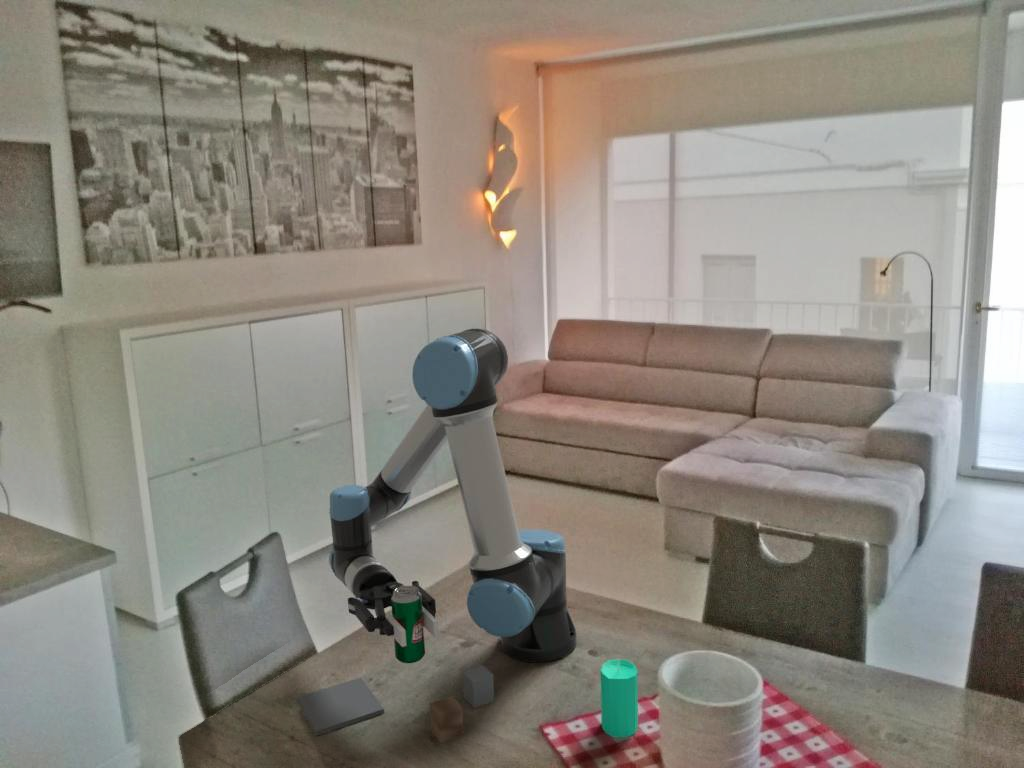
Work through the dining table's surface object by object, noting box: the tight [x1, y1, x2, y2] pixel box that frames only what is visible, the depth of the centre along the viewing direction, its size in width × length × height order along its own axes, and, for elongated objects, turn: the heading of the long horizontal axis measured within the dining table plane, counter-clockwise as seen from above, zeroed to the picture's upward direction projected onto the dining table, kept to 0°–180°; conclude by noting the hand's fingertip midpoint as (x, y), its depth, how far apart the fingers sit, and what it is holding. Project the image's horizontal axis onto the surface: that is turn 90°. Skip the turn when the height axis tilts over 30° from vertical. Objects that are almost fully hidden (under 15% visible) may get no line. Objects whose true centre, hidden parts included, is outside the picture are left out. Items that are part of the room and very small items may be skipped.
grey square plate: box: [296, 676, 385, 736], centre depth 145 cm, size 12×12×1 cm
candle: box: [600, 659, 639, 738], centre depth 135 cm, size 6×6×12 cm
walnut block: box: [429, 695, 464, 744], centre depth 136 cm, size 4×4×5 cm
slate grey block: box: [462, 664, 495, 709], centre depth 146 cm, size 4×4×5 cm
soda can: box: [391, 585, 426, 664], centre depth 138 cm, size 5×5×12 cm
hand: (420, 633), depth 133 cm, fingers closed on soda can, 5 cm apart
